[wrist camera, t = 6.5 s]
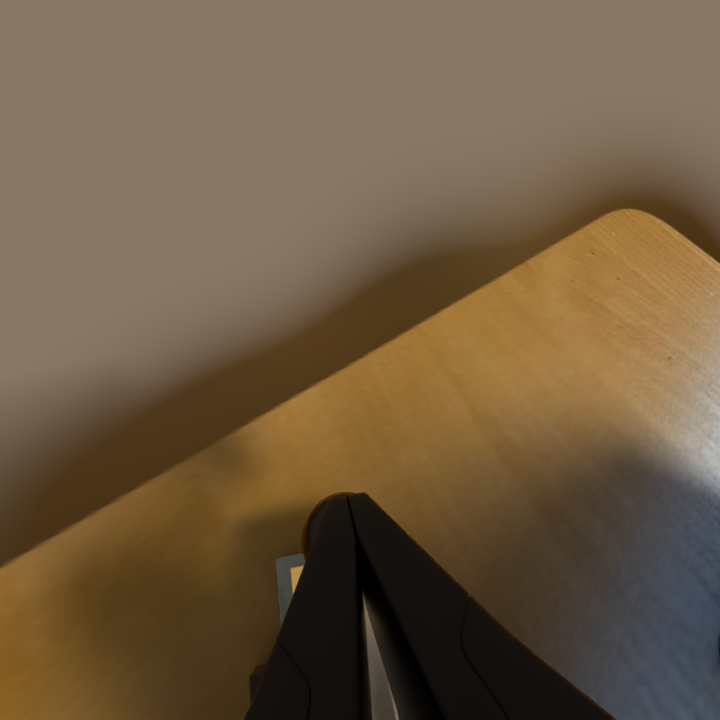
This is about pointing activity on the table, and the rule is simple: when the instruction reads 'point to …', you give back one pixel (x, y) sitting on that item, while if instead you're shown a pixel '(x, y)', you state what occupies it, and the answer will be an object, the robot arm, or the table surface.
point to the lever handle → (381, 695)
